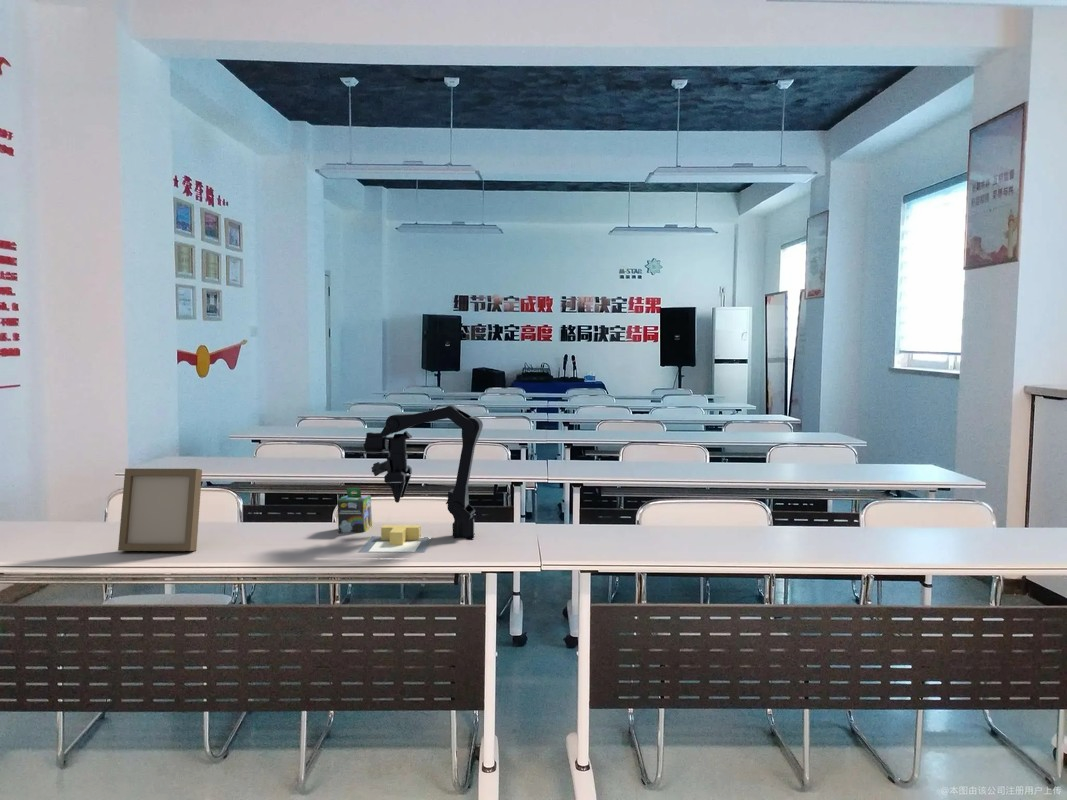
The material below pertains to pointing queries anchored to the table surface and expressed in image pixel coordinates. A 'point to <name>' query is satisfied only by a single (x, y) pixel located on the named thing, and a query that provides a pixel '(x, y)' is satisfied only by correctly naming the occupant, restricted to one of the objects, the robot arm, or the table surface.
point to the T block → (400, 533)
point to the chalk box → (354, 512)
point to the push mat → (395, 546)
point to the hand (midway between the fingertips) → (399, 499)
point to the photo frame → (160, 510)
